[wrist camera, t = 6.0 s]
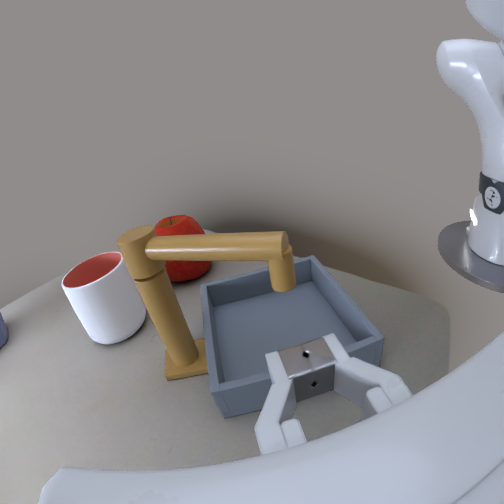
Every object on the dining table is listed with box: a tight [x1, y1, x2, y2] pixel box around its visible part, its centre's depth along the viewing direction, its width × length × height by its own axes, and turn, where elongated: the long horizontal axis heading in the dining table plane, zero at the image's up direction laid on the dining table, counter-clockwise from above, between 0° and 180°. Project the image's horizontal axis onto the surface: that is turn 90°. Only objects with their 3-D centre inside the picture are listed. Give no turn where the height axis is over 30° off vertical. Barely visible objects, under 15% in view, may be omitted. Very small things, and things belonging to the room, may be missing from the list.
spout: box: [117, 225, 296, 292], centre depth 22 cm, size 15×4×5 cm, turn 71°
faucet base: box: [134, 267, 208, 380], centre depth 27 cm, size 5×5×12 cm
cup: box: [62, 252, 146, 344], centre depth 36 cm, size 10×10×10 cm
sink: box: [200, 255, 385, 418], centre depth 30 cm, size 16×18×4 cm
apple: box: [154, 215, 211, 282], centre depth 47 cm, size 11×11×11 cm
